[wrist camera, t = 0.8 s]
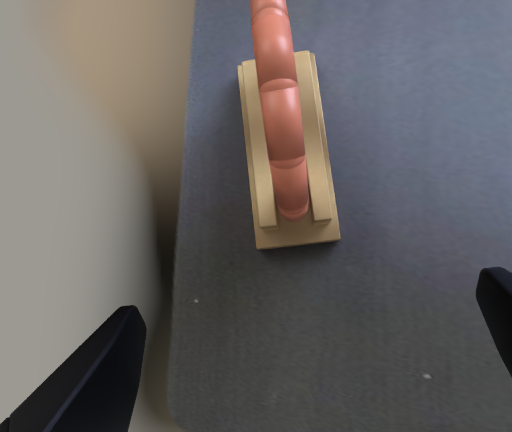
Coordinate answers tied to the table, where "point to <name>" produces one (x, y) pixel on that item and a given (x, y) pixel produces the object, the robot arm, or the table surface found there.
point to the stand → (317, 162)
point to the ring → (280, 106)
